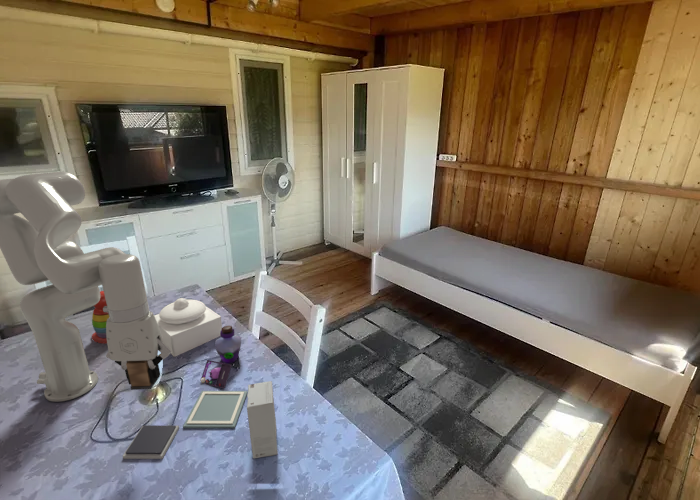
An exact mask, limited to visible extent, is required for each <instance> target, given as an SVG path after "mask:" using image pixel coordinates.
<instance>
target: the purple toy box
mask: <svg viewBox="0 0 700 500" xmlns="http://www.w3.org/2000/svg"><path fill="white" fill-rule="evenodd" d="M212 363H213V364H217V365H218V364H219V365H221V366H220V367H215V368H213V369H210V371H208V369H209V366H210V365H212ZM231 368H232V364H231V363H225V362H220V361H215V360H209V359H207V360H206V363H205V366H204V369H203V371H202V374H201V378H200V383H202V384H204V385H205V384H206V386H207V385H208V386H211V387H217V388H219V389H220V388H221V389H225V388H226V385H227V382H228V379H229V375H230V371H231ZM207 372H208V374H209V375H208V378H206V376H207ZM209 378H211V379H209ZM214 380H216V382H215V384H213V383H214Z"/></svg>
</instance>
